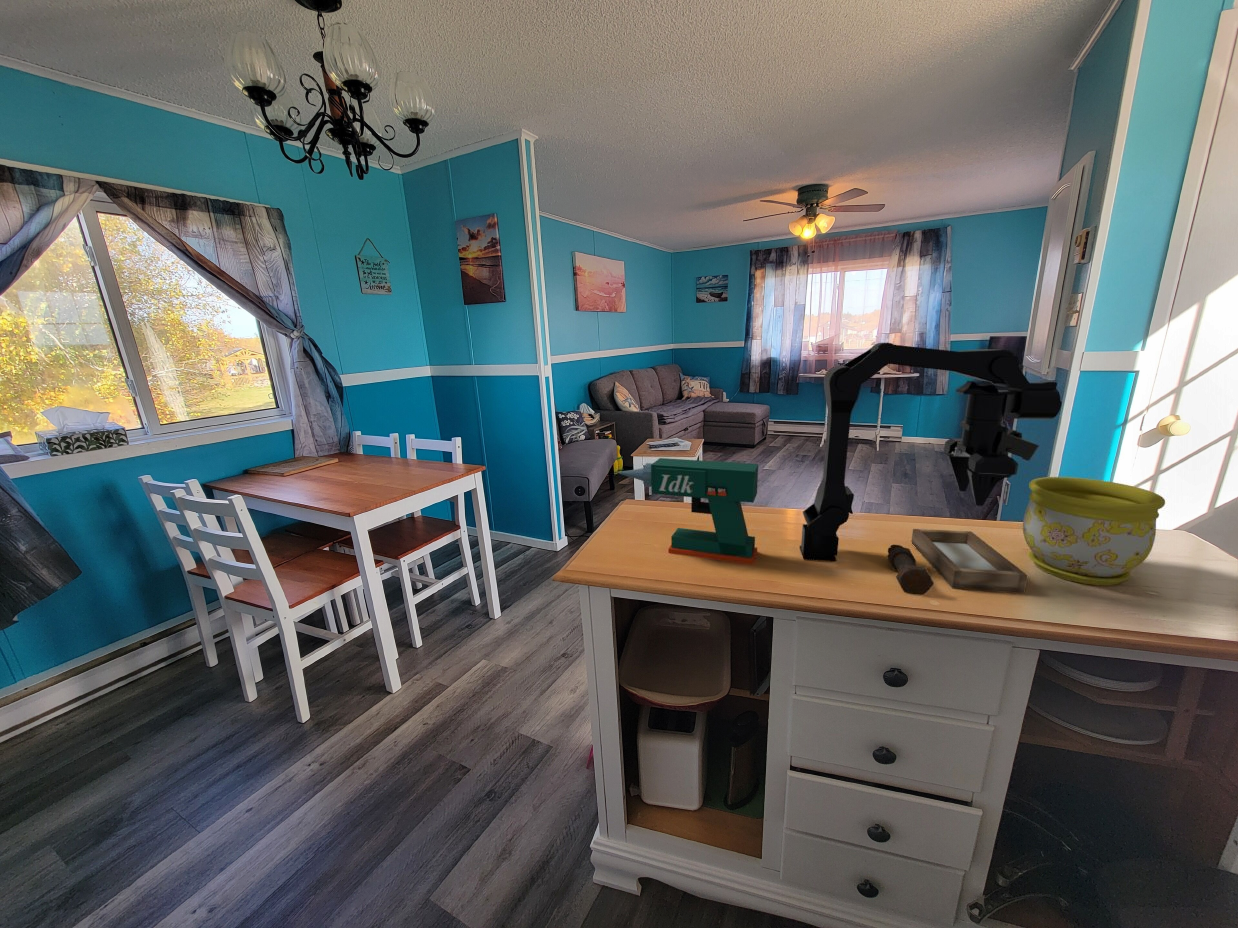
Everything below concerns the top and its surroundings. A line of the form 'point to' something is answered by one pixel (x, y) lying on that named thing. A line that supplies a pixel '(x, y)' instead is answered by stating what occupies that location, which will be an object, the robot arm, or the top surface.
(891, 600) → the top surface
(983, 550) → the wooden tray
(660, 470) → the power tool
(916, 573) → the bolt
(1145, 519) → the flowerpot
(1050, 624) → the top surface
